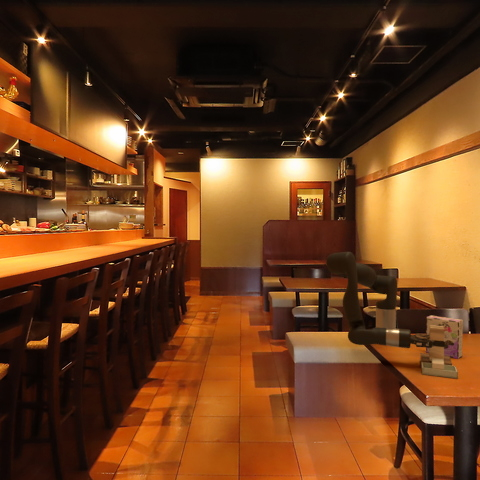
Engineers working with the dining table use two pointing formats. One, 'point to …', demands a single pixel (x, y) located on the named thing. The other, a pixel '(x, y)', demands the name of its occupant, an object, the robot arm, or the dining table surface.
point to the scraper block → (438, 335)
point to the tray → (440, 371)
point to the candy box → (448, 334)
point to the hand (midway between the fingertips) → (443, 342)
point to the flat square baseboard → (426, 359)
